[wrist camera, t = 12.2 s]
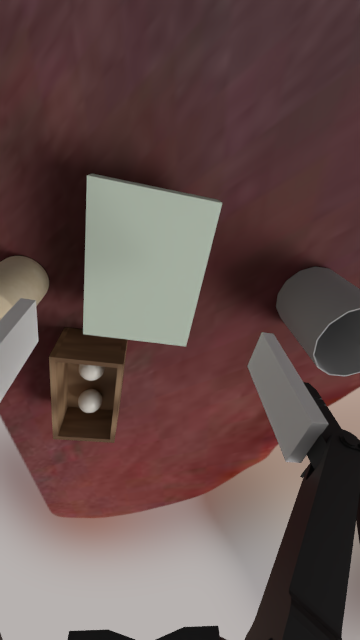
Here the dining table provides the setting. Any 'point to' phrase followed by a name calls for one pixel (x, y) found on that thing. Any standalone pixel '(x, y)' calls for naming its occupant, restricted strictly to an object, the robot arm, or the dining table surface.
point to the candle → (21, 282)
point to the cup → (323, 318)
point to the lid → (144, 259)
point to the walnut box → (85, 385)
